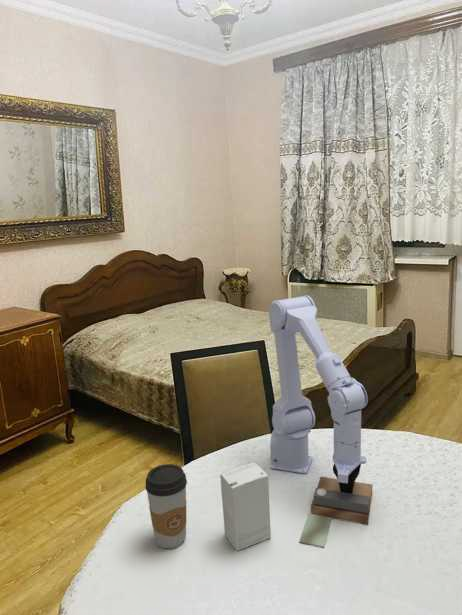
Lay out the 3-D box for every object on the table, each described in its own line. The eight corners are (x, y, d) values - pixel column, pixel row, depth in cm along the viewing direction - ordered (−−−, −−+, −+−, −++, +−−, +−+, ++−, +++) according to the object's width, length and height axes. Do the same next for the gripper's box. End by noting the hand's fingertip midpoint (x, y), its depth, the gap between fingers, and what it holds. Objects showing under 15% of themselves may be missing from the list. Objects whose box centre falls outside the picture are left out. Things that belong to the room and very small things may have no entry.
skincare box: (257, 522, 105) (255, 460, 102) (272, 539, 100) (270, 474, 97) (222, 535, 102) (218, 471, 98) (235, 553, 96) (232, 486, 93)
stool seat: (299, 542, 99) (299, 534, 98) (318, 483, 118) (318, 476, 118) (363, 555, 94) (363, 546, 94) (372, 492, 114) (372, 484, 113)
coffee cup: (158, 558, 96) (152, 490, 93) (145, 534, 103) (138, 470, 100) (197, 543, 100) (192, 477, 96) (182, 521, 107) (177, 458, 104)
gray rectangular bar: (313, 503, 107) (313, 493, 106) (316, 495, 110) (315, 486, 109) (368, 513, 103) (368, 503, 102) (369, 504, 106) (369, 494, 105)
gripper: (363, 457, 98) (362, 517, 101) (369, 425, 111) (368, 479, 114) (327, 452, 100) (327, 511, 103) (337, 421, 113) (337, 474, 116)
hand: (346, 494), depth 109 cm, fingers closed
